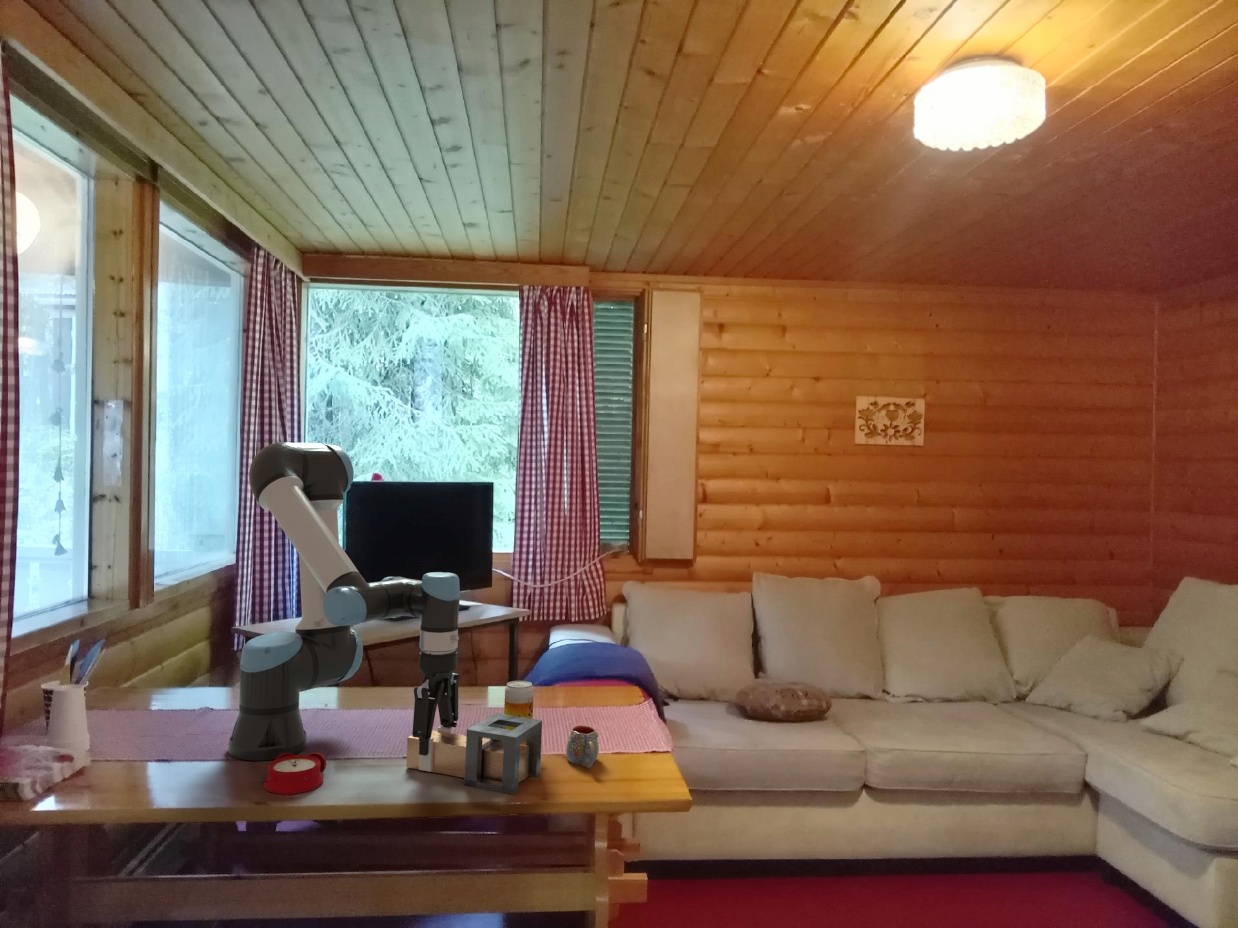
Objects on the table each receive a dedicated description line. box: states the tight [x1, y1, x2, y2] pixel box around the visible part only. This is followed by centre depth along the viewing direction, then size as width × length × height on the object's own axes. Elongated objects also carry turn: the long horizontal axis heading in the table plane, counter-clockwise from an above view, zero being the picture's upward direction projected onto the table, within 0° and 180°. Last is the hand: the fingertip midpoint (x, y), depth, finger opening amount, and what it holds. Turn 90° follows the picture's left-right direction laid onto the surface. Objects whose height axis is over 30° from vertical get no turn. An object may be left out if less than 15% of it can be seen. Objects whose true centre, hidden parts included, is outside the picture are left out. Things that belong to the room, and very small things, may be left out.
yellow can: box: [503, 680, 535, 745], centre depth 181 cm, size 6×6×15 cm
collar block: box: [464, 712, 543, 796], centre depth 167 cm, size 10×12×11 cm
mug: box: [565, 724, 600, 769], centre depth 177 cm, size 12×7×7 cm, turn 13°
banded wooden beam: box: [405, 729, 529, 784], centre depth 169 cm, size 24×6×6 cm, turn 70°
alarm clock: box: [263, 752, 327, 797], centre depth 162 cm, size 10×6×15 cm
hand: (434, 764), depth 172 cm, fingers closed on banded wooden beam, 6 cm apart
